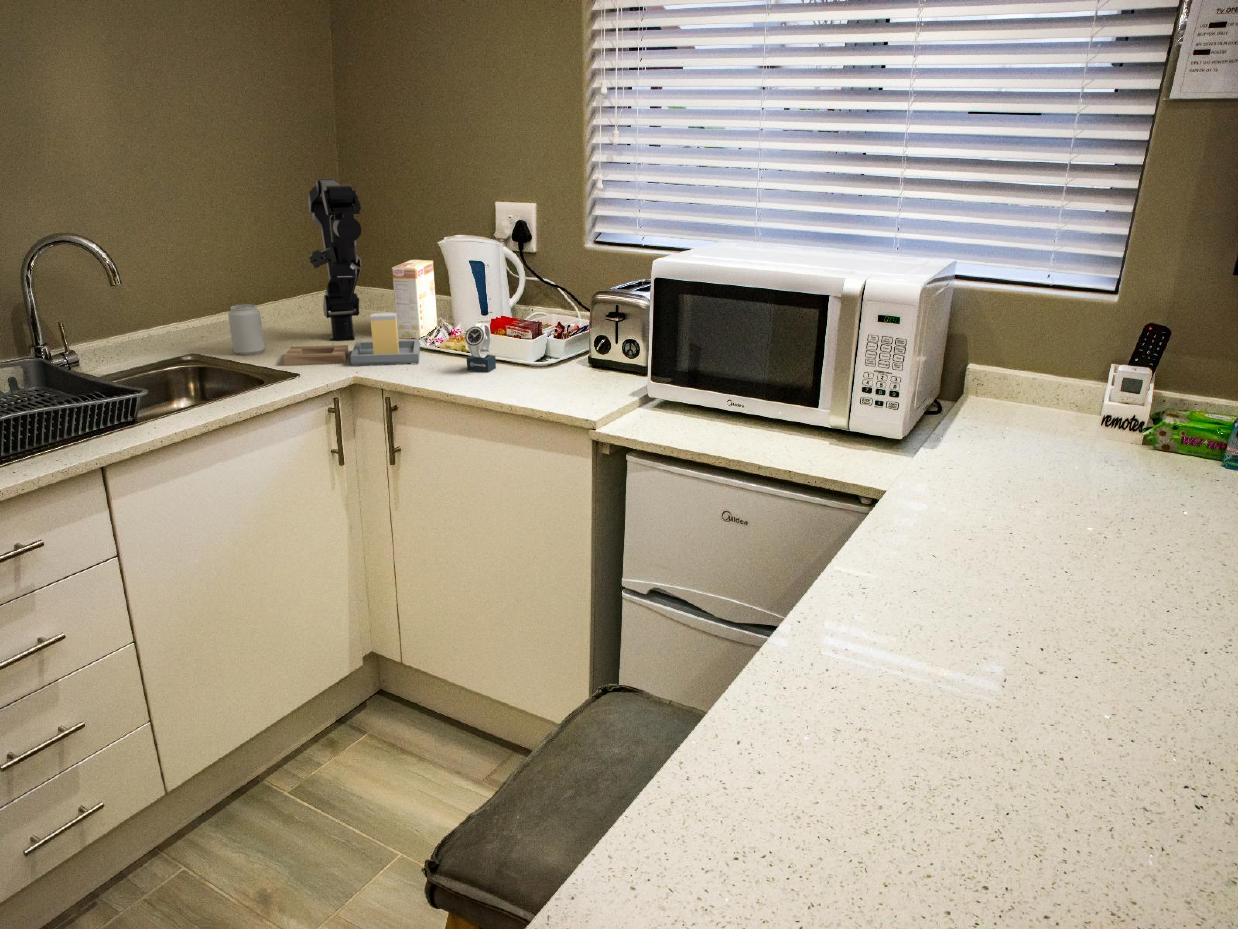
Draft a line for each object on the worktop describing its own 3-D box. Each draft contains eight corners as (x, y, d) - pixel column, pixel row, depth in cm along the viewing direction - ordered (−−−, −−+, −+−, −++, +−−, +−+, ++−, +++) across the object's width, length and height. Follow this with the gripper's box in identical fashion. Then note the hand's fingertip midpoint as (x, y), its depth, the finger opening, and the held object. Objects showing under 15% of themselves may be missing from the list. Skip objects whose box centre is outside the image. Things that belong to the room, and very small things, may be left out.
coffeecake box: (414, 327, 268) (410, 259, 262) (438, 328, 267) (434, 259, 261) (396, 338, 254) (390, 266, 248) (421, 339, 253) (416, 267, 247)
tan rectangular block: (374, 352, 235) (371, 313, 231) (399, 352, 236) (396, 312, 232) (373, 356, 231) (370, 316, 228) (398, 355, 232) (395, 315, 229)
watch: (463, 372, 220) (461, 326, 216) (478, 364, 227) (476, 320, 223) (485, 374, 218) (483, 328, 215) (499, 366, 226) (497, 321, 222)
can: (232, 350, 240) (226, 304, 236) (263, 348, 243) (257, 302, 239) (234, 356, 233) (228, 309, 229) (266, 354, 236) (260, 307, 232)
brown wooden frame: (291, 354, 236) (290, 346, 235) (348, 352, 238) (347, 344, 238) (284, 365, 225) (283, 357, 224) (344, 363, 227) (343, 355, 227)
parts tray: (356, 351, 240) (356, 341, 239) (420, 349, 242) (419, 339, 242) (351, 366, 225) (350, 356, 224) (418, 363, 228) (417, 353, 227)
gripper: (314, 233, 239) (320, 294, 244) (304, 242, 222) (311, 307, 227) (358, 233, 241) (364, 293, 246) (352, 241, 223) (358, 306, 229)
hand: (349, 299), depth 237 cm, fingers open, 9 cm apart
